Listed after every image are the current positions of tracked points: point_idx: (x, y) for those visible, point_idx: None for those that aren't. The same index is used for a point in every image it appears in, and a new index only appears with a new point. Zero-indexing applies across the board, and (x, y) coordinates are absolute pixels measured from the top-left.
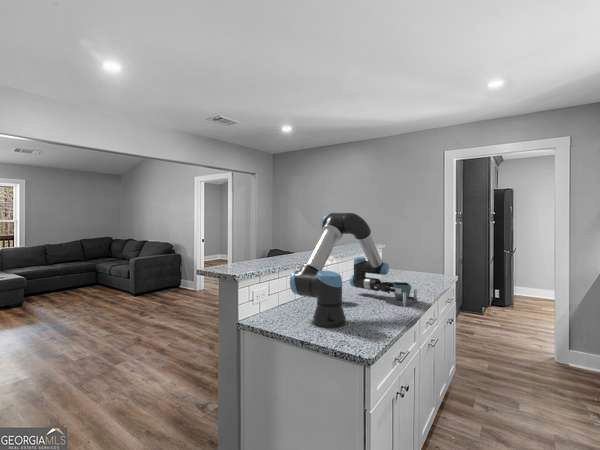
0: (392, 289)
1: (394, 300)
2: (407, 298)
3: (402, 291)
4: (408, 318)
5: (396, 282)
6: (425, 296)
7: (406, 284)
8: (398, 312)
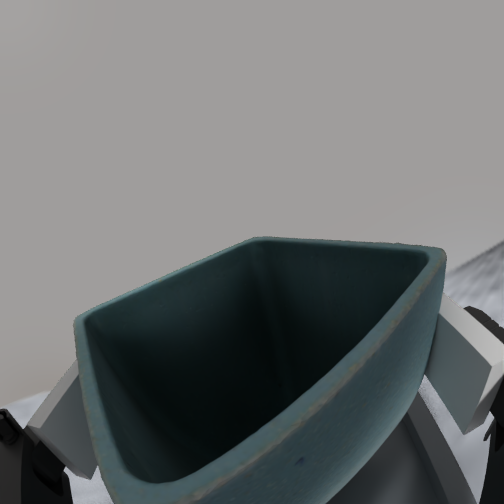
0: (489, 322)
1: (435, 425)
2: (289, 388)
3: (341, 330)
4: (483, 259)
5: (109, 415)
6: (29, 417)
7: (99, 342)
8: (496, 305)
